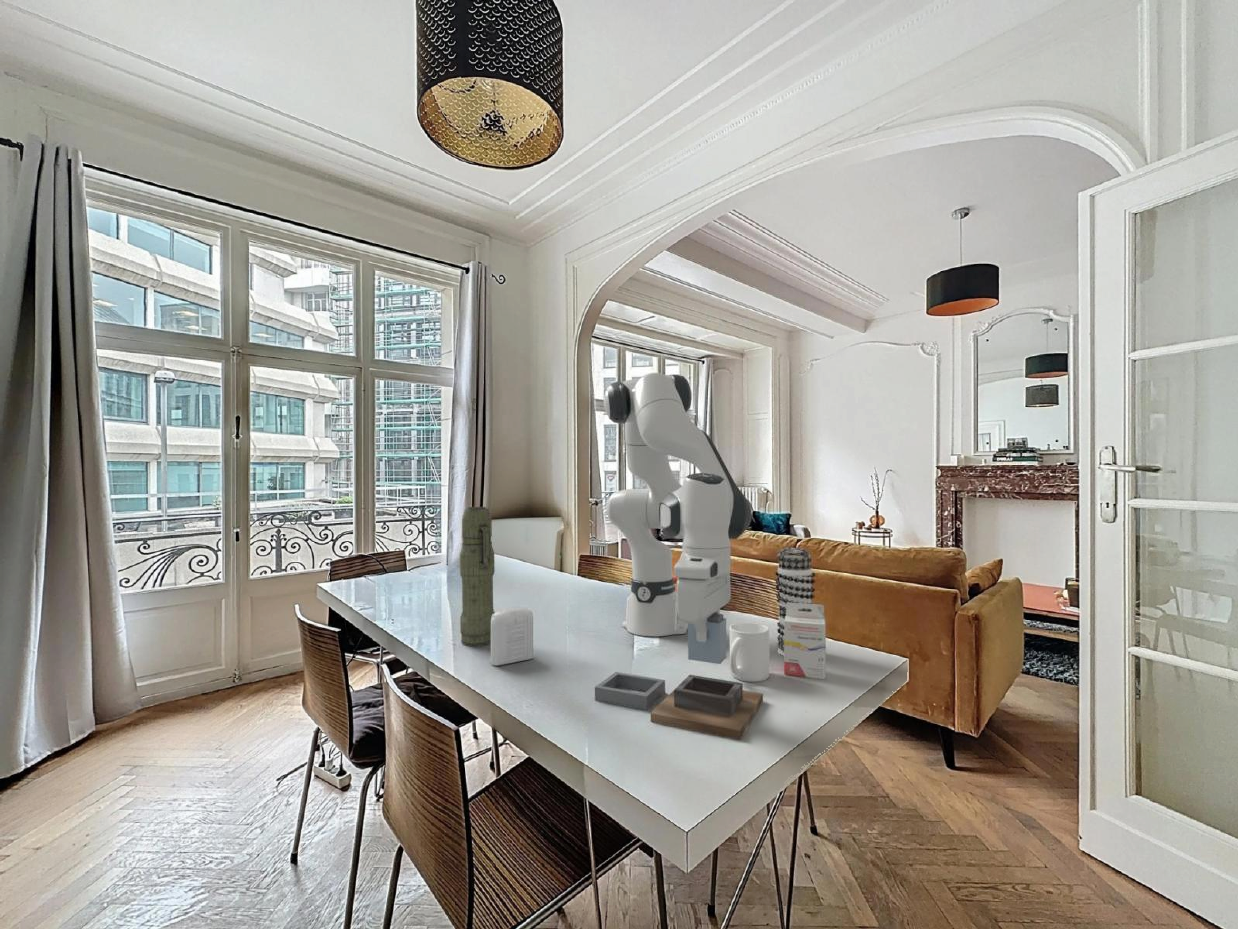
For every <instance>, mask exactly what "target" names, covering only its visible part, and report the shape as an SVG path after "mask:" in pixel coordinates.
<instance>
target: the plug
mask: <svg viewBox="0 0 1238 929" xmlns="http://www.w3.org/2000/svg"><path fill="white" fill-rule="evenodd" d="M706 627H707V631H708V640H707V641H706V642H698V641H697V637H696V629H695V626H694V624H688V629H687V652H688V653H687V654H688V656H687V659H688V660H691V661H697V662H703V663H711V664H717V665H718V664H719V665H721V664H722V663H723V662H724V661H725V660H726V659H727V617H725V618H724V614H722V613H720V614H716V613H713V614H712V615H711V616H709V617H708V618H707V623H706Z"/></svg>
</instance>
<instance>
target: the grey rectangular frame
mask: <svg viewBox="0 0 1238 929" xmlns="http://www.w3.org/2000/svg"><path fill="white" fill-rule="evenodd" d="M618 687H621V688H625V689H620V688H618ZM630 688H632V690H637V691H642V692H644V693H642V692H637V691H631V690H626V689H630ZM665 694H666V679H660V678H656V677H655V678H654V677H650V676H649V677H648V676H644V675H643V676H642V675H637V674H632V673H625V672H624V673H623V672H619V671H615V672H614V673H612V674H611V675H609V676H608V677H607V678H605V679H603V681H601V682H600V683H598V684H597V685H596V686H594V701H599V702H603V703H609V704H614V705H617V706H618V705H619V706H623V707H624V706H625V707H629V708H634V709H639V710H643V711H648V709H650V708H651V707H652V706H653V705H654V704H655V703H656V702H657V701H658V700H659V699H660V698H662V696H663V695H665Z"/></svg>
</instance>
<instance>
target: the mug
mask: <svg viewBox="0 0 1238 929" xmlns="http://www.w3.org/2000/svg"><path fill="white" fill-rule="evenodd" d="M770 669H771V667H770V629H769V627H768V626H767V625H765V624H761V623H756V622H736V623H733V624H730V625H729V671H730V674H731V676H732V677H733V678H734V679H736V680H738V681H742V682H748V683H760V682H763V681H766V680H767V679H768V678H769V677H770V671H771V670H770Z"/></svg>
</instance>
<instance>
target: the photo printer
mask: <svg viewBox="0 0 1238 929" xmlns="http://www.w3.org/2000/svg"><path fill="white" fill-rule="evenodd" d="M531 659H534V613H533V611H532V609H530V608H528V607H527V608H526V607H519V606H518V607H517V606H516V607H508V608H504V609H502V610H499V611H497V612H495V613H494V614H493V615H492V616H491V643H490V664H491V665H492V666H502V665H503V666H504V665H508V664H512V663H518V662H522V661H527V660H531Z"/></svg>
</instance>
